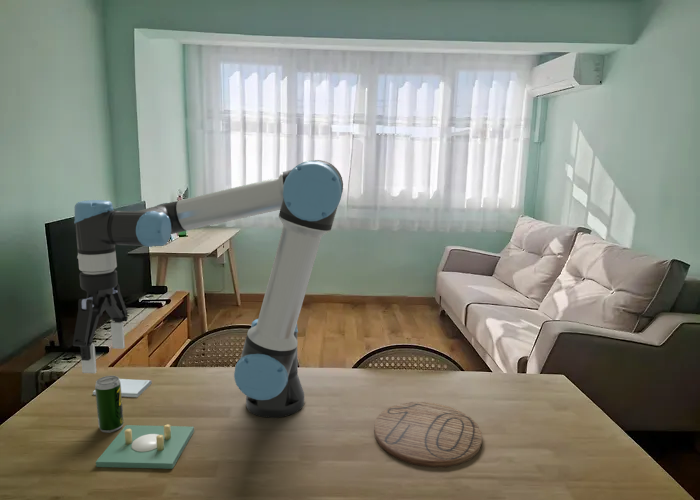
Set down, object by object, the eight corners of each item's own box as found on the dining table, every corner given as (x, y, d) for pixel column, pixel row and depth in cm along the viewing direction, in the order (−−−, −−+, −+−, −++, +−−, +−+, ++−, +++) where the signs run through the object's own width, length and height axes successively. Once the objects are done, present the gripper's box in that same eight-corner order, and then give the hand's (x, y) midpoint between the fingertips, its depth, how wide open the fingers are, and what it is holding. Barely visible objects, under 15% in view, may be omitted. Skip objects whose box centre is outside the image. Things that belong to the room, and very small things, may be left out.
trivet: (360, 453, 111) (360, 445, 110) (390, 401, 134) (390, 394, 133) (475, 480, 102) (475, 472, 102) (486, 419, 126) (486, 413, 125)
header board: (194, 431, 118) (193, 414, 117) (172, 468, 104) (171, 450, 103) (126, 429, 118) (125, 413, 117) (96, 466, 104) (94, 448, 103)
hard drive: (151, 379, 141) (109, 377, 142) (137, 393, 133) (92, 390, 134) (152, 385, 141) (109, 382, 142) (137, 399, 133) (93, 396, 134)
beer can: (100, 435, 115) (96, 387, 113) (97, 425, 119) (93, 378, 117) (125, 429, 118) (122, 382, 115) (121, 418, 122) (118, 373, 120)
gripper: (108, 257, 123) (114, 338, 127) (47, 284, 99) (57, 383, 103) (138, 258, 123) (143, 339, 127) (85, 285, 99) (93, 385, 103)
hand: (104, 359), depth 115 cm, fingers open, 13 cm apart
